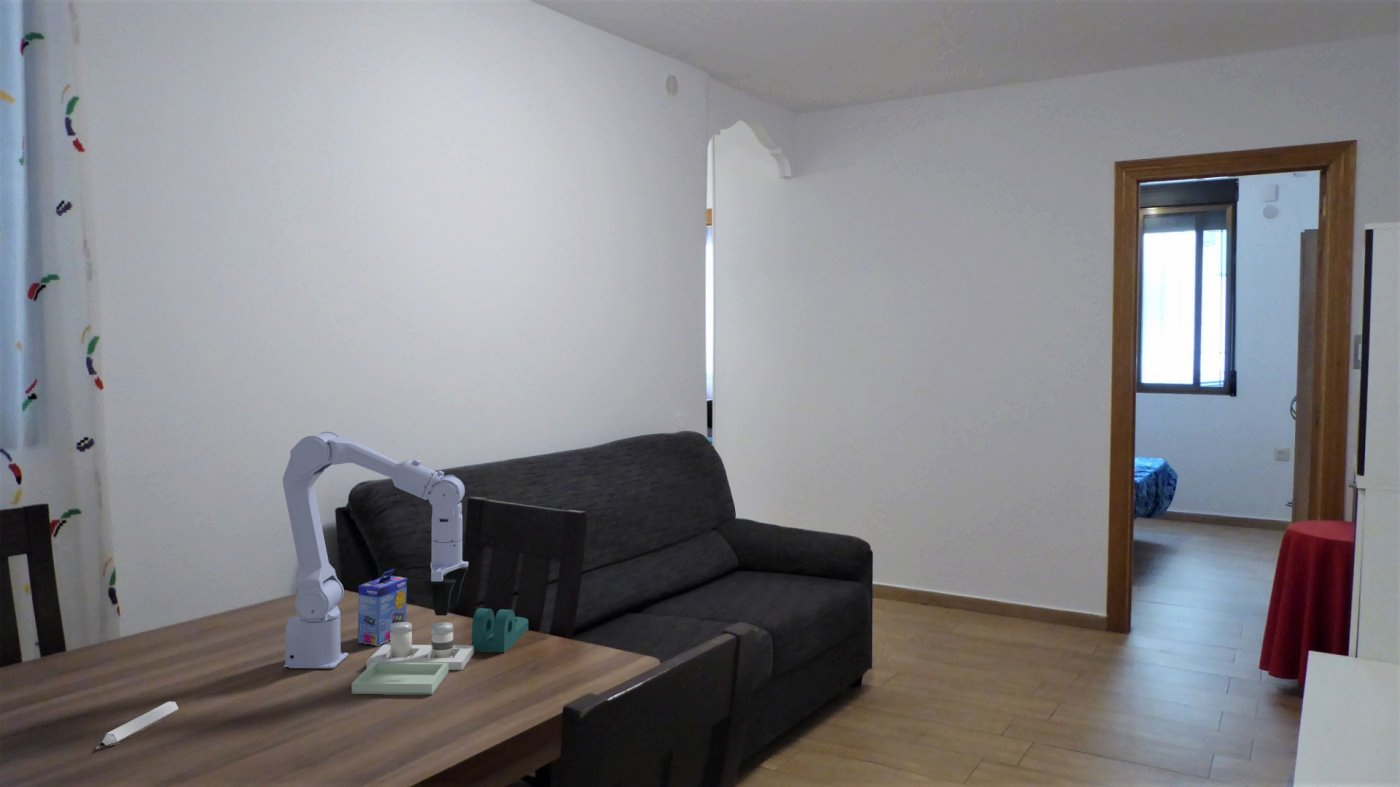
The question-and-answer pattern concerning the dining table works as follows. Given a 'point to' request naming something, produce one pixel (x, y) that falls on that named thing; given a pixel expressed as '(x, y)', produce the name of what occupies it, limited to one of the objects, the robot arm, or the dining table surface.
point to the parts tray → (400, 678)
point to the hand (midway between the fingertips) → (446, 609)
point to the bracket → (496, 630)
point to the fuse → (401, 640)
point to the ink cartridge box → (381, 608)
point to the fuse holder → (426, 656)
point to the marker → (139, 723)
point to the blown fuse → (442, 640)
